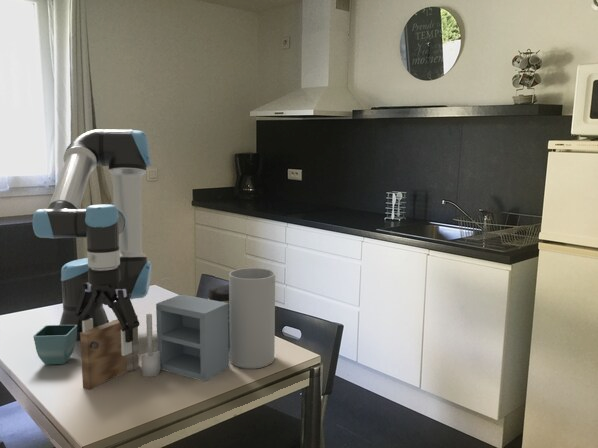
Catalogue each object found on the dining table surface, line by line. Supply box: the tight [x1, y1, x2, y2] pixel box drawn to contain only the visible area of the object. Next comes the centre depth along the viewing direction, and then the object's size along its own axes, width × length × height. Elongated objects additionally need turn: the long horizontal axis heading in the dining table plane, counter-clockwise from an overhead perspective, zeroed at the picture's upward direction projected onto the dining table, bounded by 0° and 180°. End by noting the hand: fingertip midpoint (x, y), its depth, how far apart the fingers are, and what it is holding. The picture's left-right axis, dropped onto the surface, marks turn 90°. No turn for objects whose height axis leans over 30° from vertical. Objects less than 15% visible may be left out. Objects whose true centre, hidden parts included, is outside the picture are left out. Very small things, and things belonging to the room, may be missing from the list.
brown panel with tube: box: [80, 314, 140, 391], centre depth 134 cm, size 17×5×14 cm, turn 152°
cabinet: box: [140, 294, 230, 382], centre depth 137 cm, size 18×15×18 cm
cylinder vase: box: [228, 267, 276, 370], centre depth 144 cm, size 12×12×25 cm
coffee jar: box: [207, 284, 230, 349], centre depth 155 cm, size 10×8×19 cm
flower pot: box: [33, 324, 77, 365], centre depth 143 cm, size 9×9×9 cm
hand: (107, 348), depth 133 cm, fingers open, 13 cm apart
